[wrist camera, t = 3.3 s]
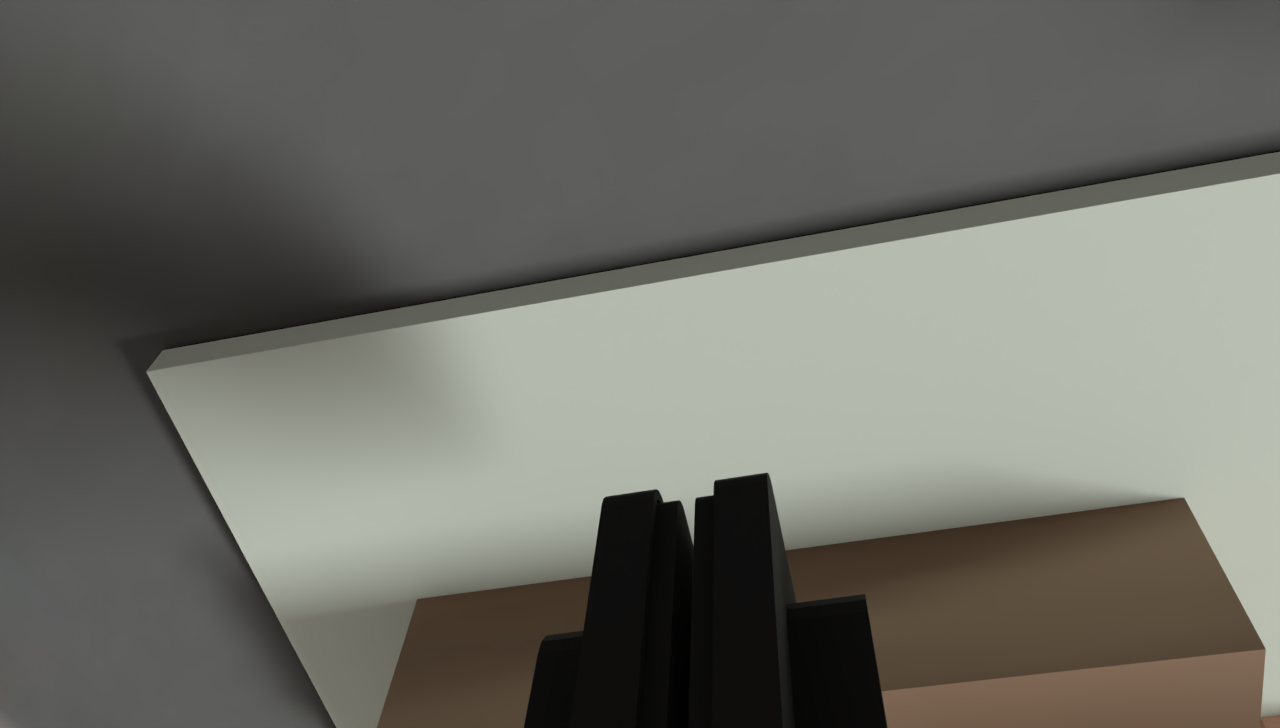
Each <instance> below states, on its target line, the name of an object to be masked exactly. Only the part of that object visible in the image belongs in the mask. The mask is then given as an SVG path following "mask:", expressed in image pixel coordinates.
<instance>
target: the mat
mask: <svg viewBox="0 0 1280 728" xmlns="http://www.w3.org/2000/svg"><path fill="white" fill-rule="evenodd" d="M146 373H147V375H148V376H149V378H150V380H151V382H152V384H153V386H154V388H155V389H156V391H157V393H158V395H159V397H160V399H161V401H162V403H163V404H164V406H165V408H166V410H167V412H168V414H169V416H170V418H171V419H172V421H173V423H174V425H175V427H176V429H177V431H178V433H179V434H180V436H181V438H182V440H183V442H184V444H185V446H186V447H187V449H188V451H189V453H190V455H191V457H192V459H193V461H194V462H195V464H196V466H197V468H198V470H199V472H200V474H201V476H202V477H203V479H204V481H205V483H206V485H207V487H208V489H209V491H210V492H211V494H212V496H213V498H214V500H215V502H216V504H217V505H218V507H219V509H220V511H221V513H222V515H223V517H224V519H225V520H226V522H227V524H228V526H229V528H230V530H231V532H232V534H233V535H234V537H235V539H236V541H237V543H238V545H239V547H240V548H241V550H242V552H243V554H244V556H245V558H246V560H247V562H248V563H249V565H250V567H251V569H252V571H253V573H254V575H255V577H256V578H257V580H258V582H259V584H260V586H261V588H262V590H263V592H264V593H265V595H266V597H267V599H268V601H269V603H270V605H271V606H272V608H273V610H274V612H275V614H276V616H277V618H278V620H279V621H280V623H281V625H282V627H283V629H284V631H285V633H286V635H287V636H288V638H289V640H290V642H291V644H292V646H293V648H294V649H295V651H296V653H297V655H298V657H299V659H300V661H301V663H302V664H303V666H304V668H305V670H306V672H307V674H308V676H309V678H310V679H311V681H312V683H313V685H314V687H315V689H316V691H317V693H318V694H319V696H320V698H321V700H322V702H323V704H324V706H325V707H326V709H327V711H328V713H329V715H330V717H331V719H332V721H333V722H334V724H335V726H336V728H377V725H378V722H379V719H380V716H381V713H382V709H383V706H384V703H385V700H386V697H387V694H388V690H389V687H390V684H391V681H392V678H393V674H394V671H395V668H396V665H397V662H398V659H399V655H400V652H401V649H402V646H403V643H404V639H405V636H406V633H407V630H408V627H409V624H410V620H411V617H412V614H413V611H414V608H415V604H416V601H417V599H422V598H429V597H437V596H444V595H452V594H460V593H467V592H475V591H482V590H490V589H497V588H505V587H512V586H520V585H528V584H535V583H543V582H550V581H558V580H565V579H573V578H581V577H588V576H591V574H592V567H593V561H594V554H595V547H596V540H597V533H598V526H599V519H600V513H601V506H602V502H603V499H604V498H605V497H607V496H613V495H620V494H627V493H634V492H640V491H647V490H654V489H657V490H659V492H660V494H661V496H662V499H663V502H670V501H677V500H680V501H681V503H682V505H683V508H684V511H685V515H686V519H687V523H688V527H689V531H690V534H691V538H692V542H693V546H694V516H695V499H696V498H698V497H704V496H711V495H714V482H715V480H721V479H727V478H734V477H741V476H747V475H754V474H761V473H768V474H769V476H770V479H771V483H772V488H773V493H774V497H775V502H776V507H777V512H778V517H779V521H780V526H781V531H782V536H783V541H784V546H785V550H792V549H800V548H807V547H815V546H823V545H830V544H838V543H845V542H853V541H860V540H868V539H875V538H883V537H891V536H898V535H906V534H913V533H921V532H928V531H936V530H943V529H951V528H959V527H966V526H974V525H981V524H989V523H996V522H1004V521H1012V520H1019V519H1027V518H1034V517H1042V516H1049V515H1057V514H1064V513H1072V512H1080V511H1087V510H1095V509H1102V508H1110V507H1117V506H1125V505H1133V504H1140V503H1148V502H1155V501H1163V500H1170V499H1178V498H1185V500H1186V502H1187V504H1188V506H1189V507H1190V509H1191V511H1192V513H1193V515H1194V517H1195V519H1196V520H1197V522H1198V524H1199V526H1200V528H1201V530H1202V532H1203V533H1204V535H1205V537H1206V539H1207V541H1208V543H1209V545H1210V546H1211V548H1212V550H1213V552H1214V554H1215V556H1216V558H1217V559H1218V561H1219V563H1220V565H1221V567H1222V569H1223V571H1224V572H1225V574H1226V576H1227V578H1228V580H1229V582H1230V584H1231V585H1232V587H1233V589H1234V591H1235V593H1236V595H1237V597H1238V598H1239V600H1240V602H1241V604H1242V606H1243V608H1244V610H1245V611H1246V613H1247V615H1248V617H1249V619H1250V621H1251V622H1252V624H1253V626H1254V628H1255V630H1256V632H1257V634H1258V635H1259V637H1260V639H1261V641H1262V643H1263V645H1264V647H1265V648H1266V653H1265V666H1264V679H1263V693H1262V706H1261V717H1268V716H1278V715H1280V152H1275V153H1269V154H1264V155H1258V156H1253V157H1247V158H1241V159H1236V160H1230V161H1224V162H1219V163H1213V164H1208V165H1202V166H1196V167H1191V168H1185V169H1179V170H1174V171H1168V172H1163V173H1157V174H1151V175H1146V176H1140V177H1134V178H1129V179H1123V180H1118V181H1112V182H1106V183H1101V184H1095V185H1089V186H1084V187H1078V188H1073V189H1067V190H1061V191H1056V192H1050V193H1044V194H1039V195H1033V196H1028V197H1022V198H1016V199H1011V200H1005V201H999V202H994V203H988V204H983V205H977V206H971V207H966V208H960V209H954V210H949V211H943V212H938V213H932V214H926V215H921V216H915V217H909V218H904V219H898V220H893V221H887V222H881V223H876V224H870V225H864V226H859V227H853V228H848V229H842V230H836V231H831V232H825V233H820V234H814V235H808V236H803V237H797V238H791V239H786V240H780V241H775V242H769V243H763V244H758V245H752V246H746V247H741V248H735V249H730V250H724V251H718V252H713V253H707V254H701V255H696V256H690V257H685V258H679V259H673V260H668V261H662V262H656V263H651V264H645V265H640V266H634V267H628V268H623V269H617V270H611V271H606V272H600V273H595V274H589V275H583V276H578V277H572V278H566V279H561V280H555V281H550V282H544V283H538V284H533V285H527V286H521V287H516V288H510V289H505V290H499V291H493V292H488V293H482V294H476V295H471V296H465V297H460V298H454V299H448V300H443V301H437V302H431V303H426V304H420V305H415V306H409V307H403V308H398V309H392V310H387V311H381V312H375V313H370V314H364V315H358V316H353V317H347V318H342V319H336V320H330V321H325V322H319V323H313V324H308V325H302V326H297V327H291V328H285V329H280V330H274V331H268V332H263V333H257V334H252V335H246V336H240V337H235V338H229V339H223V340H218V341H212V342H207V343H201V344H195V345H190V346H184V347H178V348H173V349H167V350H163V351H162V352H161V353H160V355H159V356H158V357H157V358H156V360H155V361H154V362H153V363H152V365H151V366H150V367H149V369H148V370H147V371H146Z"/></svg>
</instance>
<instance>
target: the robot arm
mask: <svg viewBox="0 0 1280 728" xmlns="http://www.w3.org/2000/svg"><path fill="white" fill-rule="evenodd" d="M524 728H888V727H887V721H886V715H885V709H884V703H883V697H882V691H881V685H880V679H879V673H878V667H877V661H876V655H875V649H874V643H873V637H872V631H871V625H870V620H869V614H868V608H867V602H866V596H865V594H861V595H853V596H846V597H838V598H830V599H823V600H815V601H807V602H799V603H796V598H795V594H794V589H793V584H792V579H791V574H790V570H789V565H788V560H787V555H786V550H785V546H784V541H783V536H782V531H781V526H780V521H779V517H778V512H777V507H776V502H775V497H774V493H773V488H772V483H771V479H770V476H769V474H768V473H761V474H754V475H747V476H741V477H734V478H727V479H721V480H715V482H714V495H711V496H704V497H698V498H696V499H695V516H694V546H693V542H692V538H691V534H690V531H689V527H688V523H687V519H686V515H685V511H684V508H683V505H682V503H681V501H680V500H677V501H670V502H663V499H662V496H661V494H660V492H659V490H657V489H654V490H647V491H640V492H634V493H627V494H620V495H613V496H607V497H605V498H604V499H603V502H602V506H601V513H600V519H599V526H598V533H597V540H596V547H595V554H594V561H593V567H592V574H591V581H590V588H589V595H588V602H587V609H586V616H585V622H584V629H583V631H577V632H569V633H562V634H554V635H546V636H545V638H544V639H543V640H542V641H541V644H540V648H539V651H538V655H537V660H536V665H535V671H534V676H533V681H532V686H531V692H530V697H529V702H528V707H527V713H526V718H525V723H524Z"/></svg>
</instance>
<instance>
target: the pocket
mask: <svg viewBox="0 0 1280 728" xmlns="http://www.w3.org/2000/svg"><path fill="white" fill-rule="evenodd" d="M1260 728H1280V715H1278V716H1268V717H1261V719H1260Z"/></svg>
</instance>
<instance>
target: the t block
mask: <svg viewBox="0 0 1280 728" xmlns="http://www.w3.org/2000/svg"><path fill="white" fill-rule="evenodd" d="M786 555H787V560H788V565H789V570H790V574H791V579H792V584H793V589H794V594H795V598H796V603H799V602H807V601H815V600H823V599H830V598H838V597H846V596H853V595H861V594H865V596H866V602H867V608H868V614H869V620H870V625H871V631H872V637H873V643H874V649H875V655H876V661H877V667H878V673H879V679H880V685H881V691H882V697H883V703H884V709H885V715H886V721H887V727H888V728H1260V719H1261V706H1262V693H1263V679H1264V666H1265V653H1266V648H1265V647H1264V645H1263V643H1262V641H1261V639H1260V637H1259V635H1258V634H1257V632H1256V630H1255V628H1254V626H1253V624H1252V622H1251V621H1250V619H1249V617H1248V615H1247V613H1246V611H1245V610H1244V608H1243V606H1242V604H1241V602H1240V600H1239V598H1238V597H1237V595H1236V593H1235V591H1234V589H1233V587H1232V585H1231V584H1230V582H1229V580H1228V578H1227V576H1226V574H1225V572H1224V571H1223V569H1222V567H1221V565H1220V563H1219V561H1218V559H1217V558H1216V556H1215V554H1214V552H1213V550H1212V548H1211V546H1210V545H1209V543H1208V541H1207V539H1206V537H1205V535H1204V533H1203V532H1202V530H1201V528H1200V526H1199V524H1198V522H1197V520H1196V519H1195V517H1194V515H1193V513H1192V511H1191V509H1190V507H1189V506H1188V504H1187V502H1186V500H1185V498H1178V499H1170V500H1163V501H1155V502H1148V503H1140V504H1133V505H1125V506H1117V507H1110V508H1102V509H1095V510H1087V511H1080V512H1072V513H1064V514H1057V515H1049V516H1042V517H1034V518H1027V519H1019V520H1012V521H1004V522H996V523H989V524H981V525H974V526H966V527H959V528H951V529H943V530H936V531H928V532H921V533H913V534H906V535H898V536H891V537H883V538H875V539H868V540H860V541H853V542H845V543H838V544H830V545H823V546H815V547H807V548H800V549H792V550H786ZM590 581H591V576H588V577H581V578H573V579H565V580H558V581H550V582H543V583H535V584H528V585H520V586H512V587H505V588H497V589H490V590H482V591H475V592H467V593H460V594H452V595H444V596H437V597H429V598H422V599H417V601H416V604H415V608H414V611H413V614H412V617H411V620H410V624H409V627H408V630H407V633H406V636H405V639H404V643H403V646H402V649H401V652H400V655H399V659H398V662H397V665H396V668H395V671H394V674H393V678H392V681H391V684H390V687H389V690H388V694H387V697H386V700H385V703H384V706H383V709H382V713H381V716H380V719H379V722H378V725H377V728H524V723H525V718H526V713H527V707H528V702H529V697H530V692H531V686H532V681H533V676H534V671H535V665H536V660H537V655H538V651H539V648H540V644H541V641H542V640H543V639H544V638H545V636H546V635H554V634H562V633H569V632H577V631H583V629H584V622H585V616H586V609H587V602H588V595H589V588H590Z"/></svg>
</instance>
